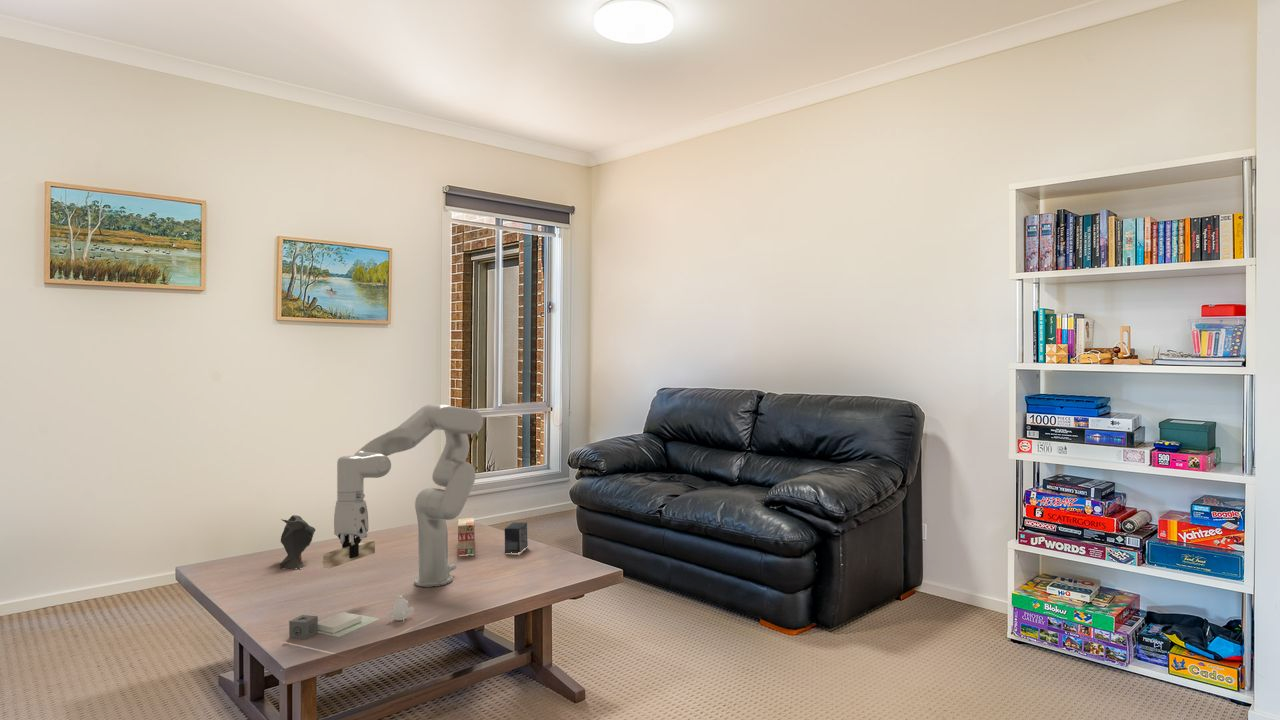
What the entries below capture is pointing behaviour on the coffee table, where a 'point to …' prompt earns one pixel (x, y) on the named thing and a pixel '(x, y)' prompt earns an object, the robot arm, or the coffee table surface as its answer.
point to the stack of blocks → (466, 536)
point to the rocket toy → (400, 609)
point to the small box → (516, 537)
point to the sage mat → (364, 622)
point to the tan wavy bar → (347, 554)
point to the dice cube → (303, 627)
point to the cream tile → (338, 622)
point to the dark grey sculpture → (295, 541)
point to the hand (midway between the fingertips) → (350, 556)
